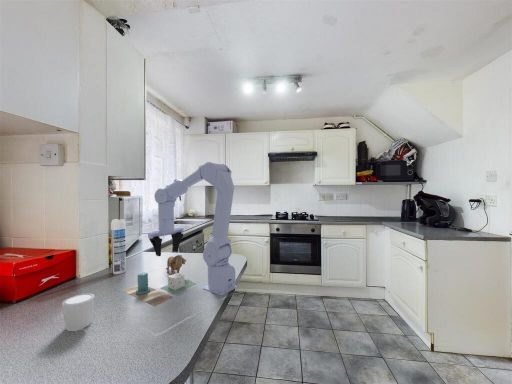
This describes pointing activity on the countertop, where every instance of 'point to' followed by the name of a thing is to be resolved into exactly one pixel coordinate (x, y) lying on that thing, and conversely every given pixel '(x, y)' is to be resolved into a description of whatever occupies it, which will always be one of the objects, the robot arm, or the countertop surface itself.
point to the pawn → (142, 284)
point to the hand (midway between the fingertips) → (167, 253)
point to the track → (149, 295)
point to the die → (176, 281)
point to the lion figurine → (175, 263)
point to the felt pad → (187, 284)
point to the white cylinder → (78, 311)
